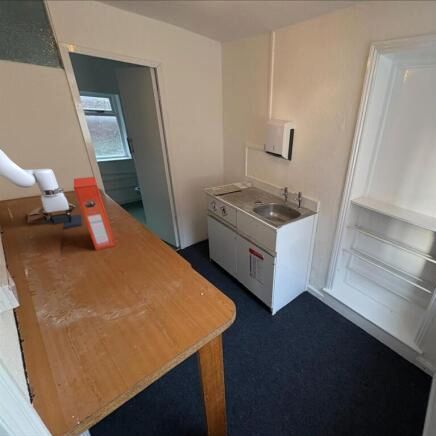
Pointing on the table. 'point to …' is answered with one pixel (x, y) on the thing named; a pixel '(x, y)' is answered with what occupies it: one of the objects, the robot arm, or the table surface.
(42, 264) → the table surface
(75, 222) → the socket pad
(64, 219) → the black pad
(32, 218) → the sunglasses case
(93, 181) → the file binder
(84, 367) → the table surface
